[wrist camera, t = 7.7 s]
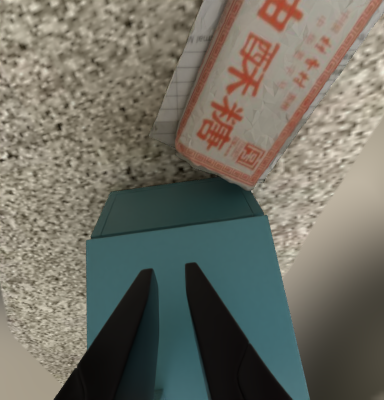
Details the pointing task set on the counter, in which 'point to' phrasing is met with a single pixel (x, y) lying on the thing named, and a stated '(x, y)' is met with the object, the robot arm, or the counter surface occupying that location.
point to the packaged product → (256, 79)
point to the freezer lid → (178, 305)
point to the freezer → (174, 207)
